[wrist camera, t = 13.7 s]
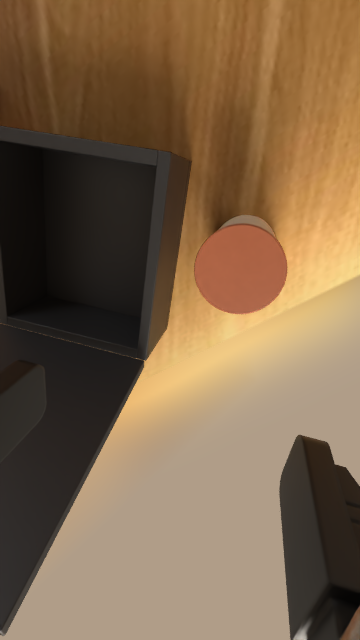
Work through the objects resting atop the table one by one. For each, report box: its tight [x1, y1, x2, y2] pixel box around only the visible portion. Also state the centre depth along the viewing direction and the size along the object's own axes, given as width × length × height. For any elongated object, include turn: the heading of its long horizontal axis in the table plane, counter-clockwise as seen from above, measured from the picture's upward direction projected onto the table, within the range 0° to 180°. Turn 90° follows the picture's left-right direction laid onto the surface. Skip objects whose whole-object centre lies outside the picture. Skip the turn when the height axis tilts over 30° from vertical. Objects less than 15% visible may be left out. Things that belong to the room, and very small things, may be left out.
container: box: [194, 215, 287, 314], centre depth 23 cm, size 6×6×9 cm
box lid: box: [0, 324, 144, 636], centre depth 21 cm, size 17×14×5 cm
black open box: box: [0, 126, 192, 361], centre depth 27 cm, size 16×14×7 cm
